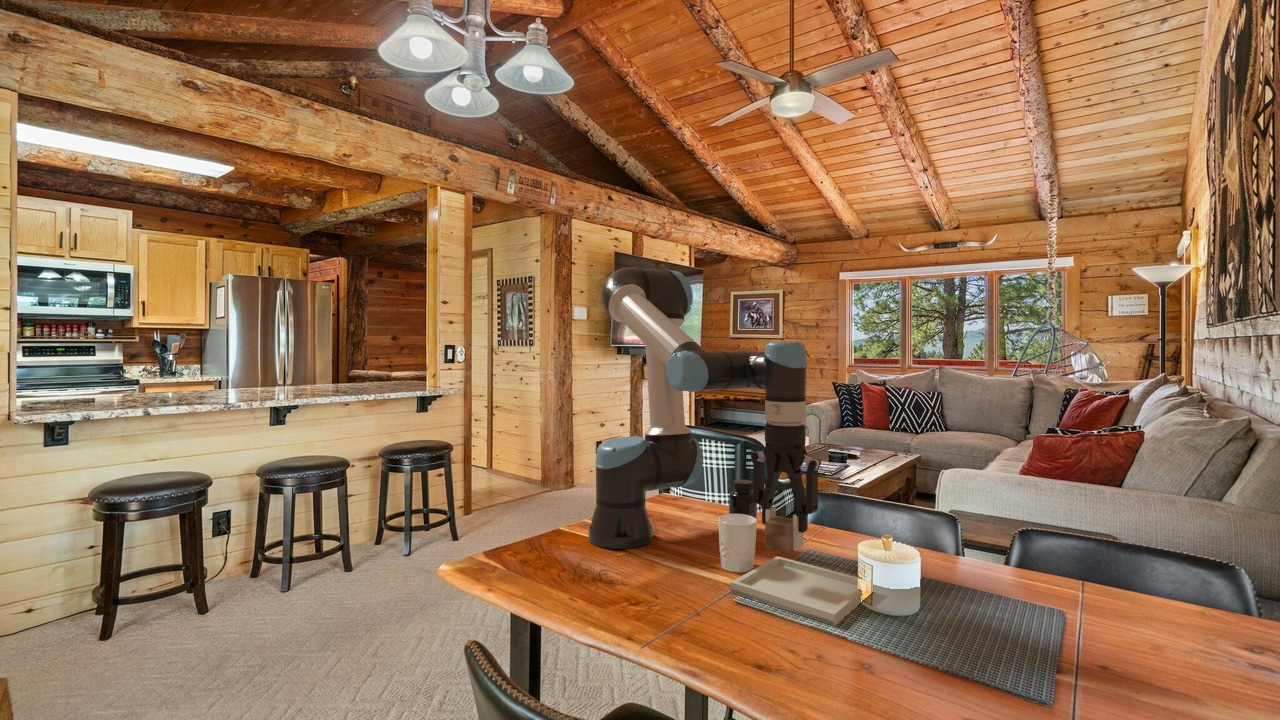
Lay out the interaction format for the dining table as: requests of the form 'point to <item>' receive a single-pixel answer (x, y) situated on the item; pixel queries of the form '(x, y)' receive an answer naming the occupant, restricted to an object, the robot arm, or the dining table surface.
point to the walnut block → (779, 534)
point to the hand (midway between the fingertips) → (784, 544)
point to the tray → (801, 589)
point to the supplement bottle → (742, 499)
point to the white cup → (737, 542)
